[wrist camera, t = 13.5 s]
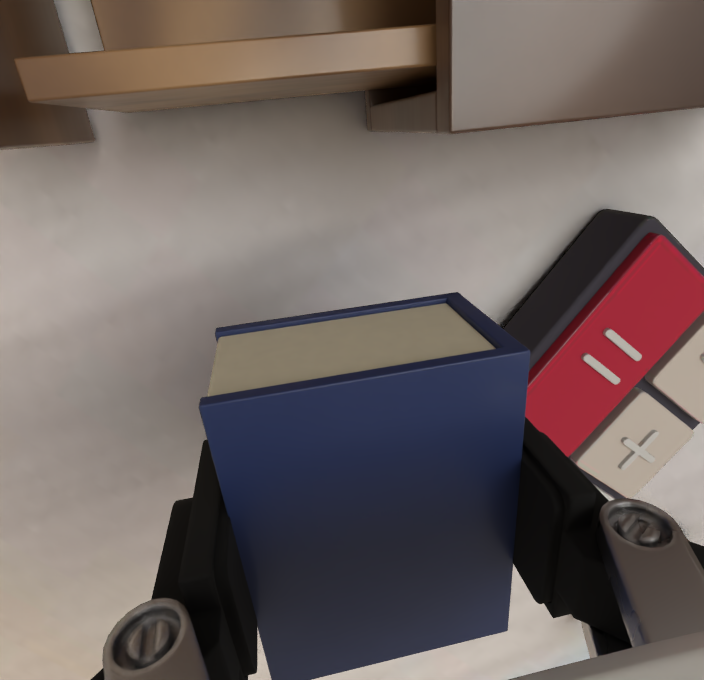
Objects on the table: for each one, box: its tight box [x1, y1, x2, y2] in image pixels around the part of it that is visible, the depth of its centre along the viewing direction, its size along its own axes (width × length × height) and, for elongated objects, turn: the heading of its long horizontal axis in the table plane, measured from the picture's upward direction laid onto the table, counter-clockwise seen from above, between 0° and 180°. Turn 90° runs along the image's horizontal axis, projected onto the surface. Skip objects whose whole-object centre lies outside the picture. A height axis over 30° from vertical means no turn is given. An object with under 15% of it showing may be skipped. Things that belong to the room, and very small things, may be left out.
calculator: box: [504, 209, 704, 501], centre depth 24 cm, size 11×4×15 cm
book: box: [199, 292, 530, 680], centre depth 11 cm, size 8×6×3 cm
